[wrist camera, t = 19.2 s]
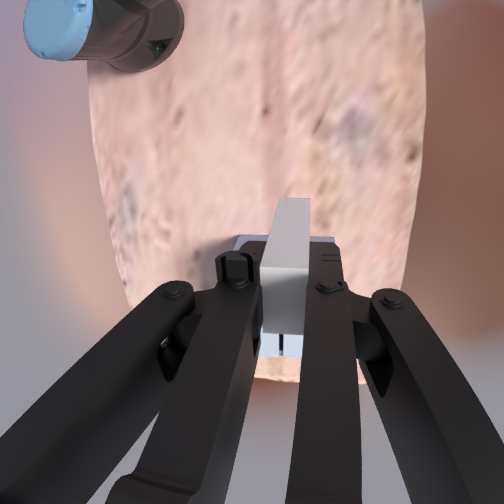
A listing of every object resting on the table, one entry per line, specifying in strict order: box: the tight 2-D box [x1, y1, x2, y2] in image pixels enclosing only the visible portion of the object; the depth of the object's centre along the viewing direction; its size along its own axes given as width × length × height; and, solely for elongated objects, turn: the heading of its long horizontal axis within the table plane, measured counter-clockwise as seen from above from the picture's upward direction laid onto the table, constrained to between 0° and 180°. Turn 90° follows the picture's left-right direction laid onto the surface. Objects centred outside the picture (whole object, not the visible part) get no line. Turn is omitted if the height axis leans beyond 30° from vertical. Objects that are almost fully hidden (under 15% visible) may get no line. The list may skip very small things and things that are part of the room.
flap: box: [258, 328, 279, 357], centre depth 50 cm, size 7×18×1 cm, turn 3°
